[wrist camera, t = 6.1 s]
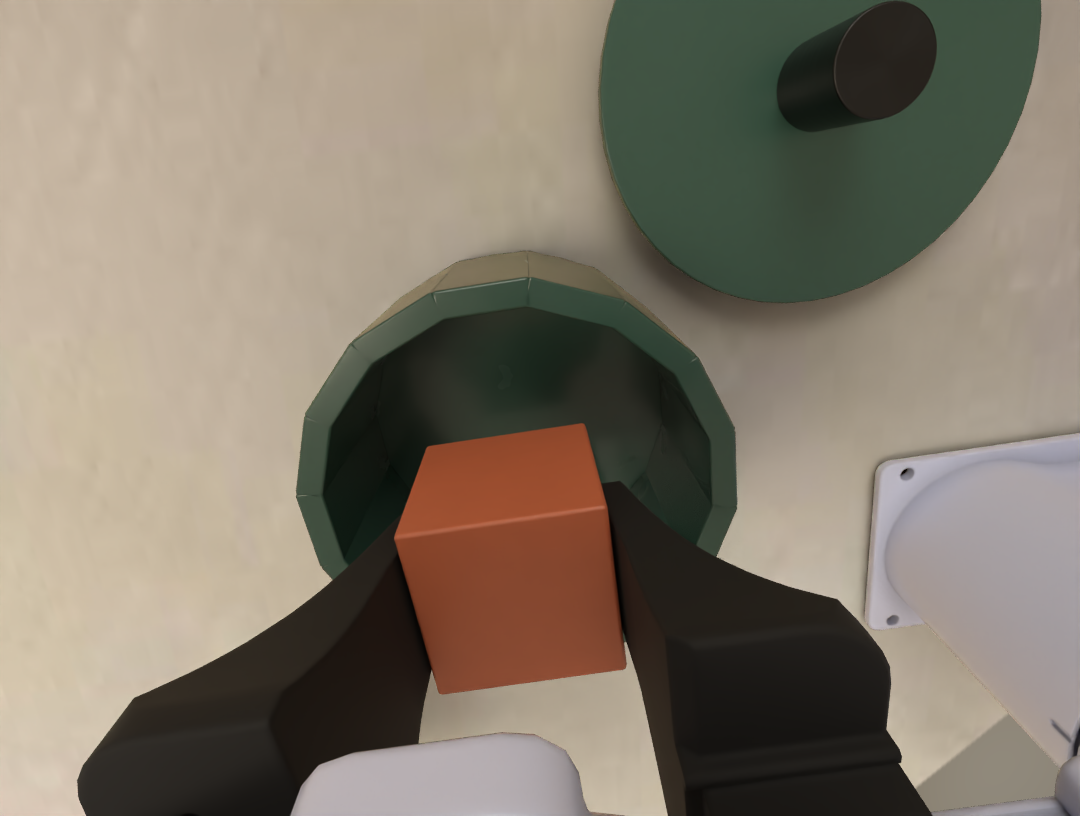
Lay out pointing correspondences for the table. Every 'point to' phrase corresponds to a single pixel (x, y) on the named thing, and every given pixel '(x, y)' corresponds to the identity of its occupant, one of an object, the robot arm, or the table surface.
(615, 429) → the pot
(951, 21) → the lid
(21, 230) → the table surface
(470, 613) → the block
